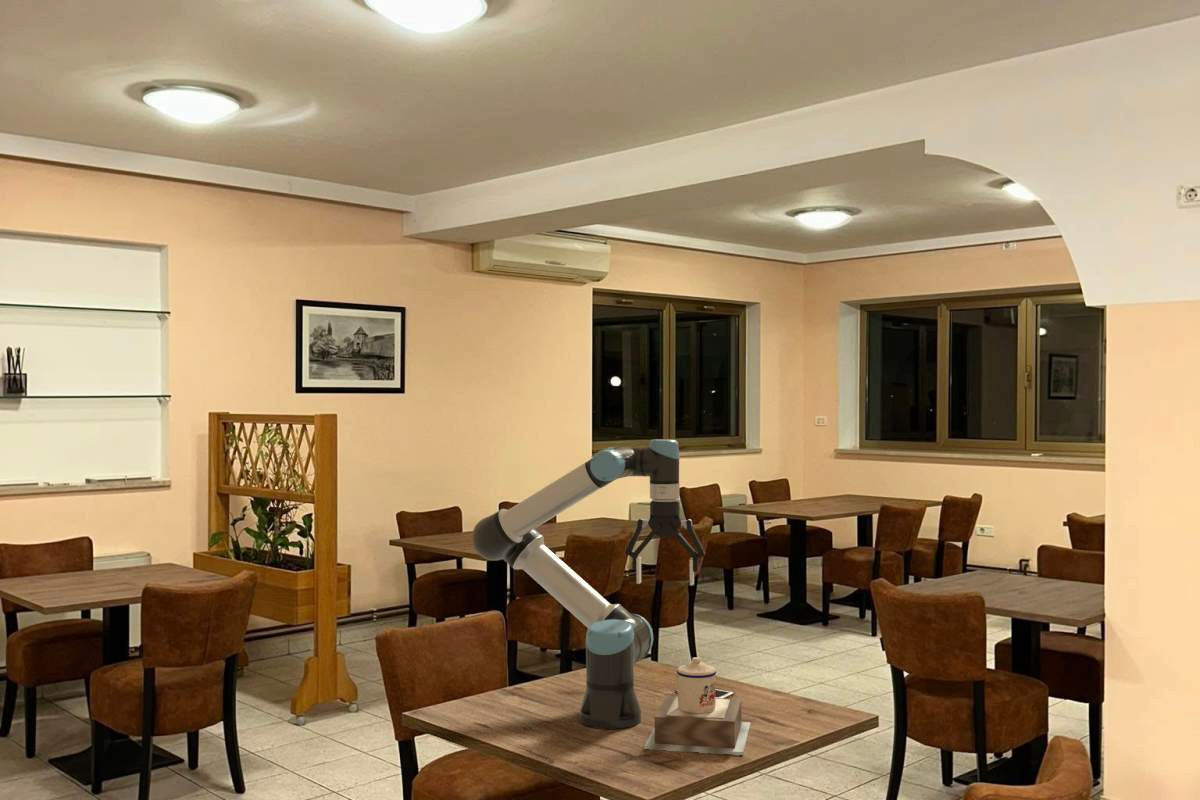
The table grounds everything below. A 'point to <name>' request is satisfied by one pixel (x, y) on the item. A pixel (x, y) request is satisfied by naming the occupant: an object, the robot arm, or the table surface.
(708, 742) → the plinth
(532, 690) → the table surface
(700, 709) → the teacup with lid
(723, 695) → the cell phone
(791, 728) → the table surface
